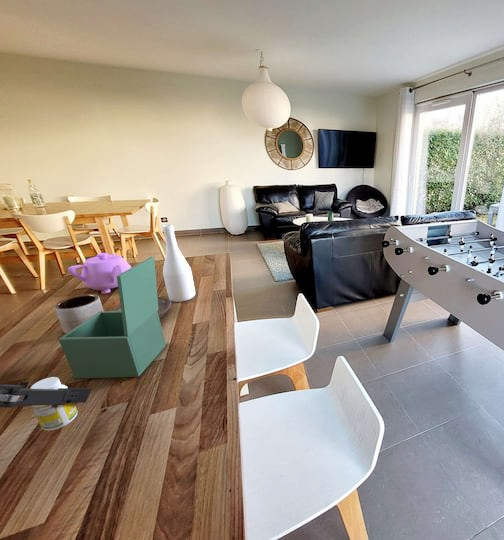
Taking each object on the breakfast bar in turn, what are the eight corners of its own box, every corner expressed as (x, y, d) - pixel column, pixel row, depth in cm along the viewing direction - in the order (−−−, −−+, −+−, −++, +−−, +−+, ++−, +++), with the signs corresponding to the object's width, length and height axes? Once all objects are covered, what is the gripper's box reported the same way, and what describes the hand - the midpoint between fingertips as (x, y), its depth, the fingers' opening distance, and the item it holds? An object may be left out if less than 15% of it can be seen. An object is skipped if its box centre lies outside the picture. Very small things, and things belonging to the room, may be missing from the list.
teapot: (90, 304, 109) (78, 268, 103) (69, 291, 118) (56, 257, 112) (147, 286, 125) (139, 254, 119) (125, 276, 134) (116, 245, 128)
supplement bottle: (50, 435, 56) (31, 399, 52) (36, 425, 58) (17, 389, 54) (84, 415, 61) (69, 380, 57) (70, 405, 63) (55, 371, 59)
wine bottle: (184, 304, 112) (168, 229, 101) (163, 301, 114) (145, 227, 102) (201, 293, 121) (188, 223, 110) (181, 291, 122) (166, 221, 111)
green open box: (74, 378, 74) (58, 339, 70) (111, 346, 87) (99, 311, 82) (138, 376, 76) (126, 338, 71) (166, 345, 89) (157, 310, 84)
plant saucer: (144, 332, 94) (142, 324, 93) (98, 325, 97) (95, 317, 96) (183, 306, 111) (182, 299, 109) (143, 301, 113) (141, 294, 112)
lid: (116, 275, 65) (120, 276, 65) (151, 256, 78) (154, 256, 78) (124, 336, 71) (128, 336, 71) (155, 309, 84) (158, 309, 84)
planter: (54, 332, 92) (43, 306, 88) (91, 315, 102) (83, 291, 98) (80, 338, 90) (70, 312, 86) (115, 320, 100) (107, 296, 96)
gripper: (-162, 419, 39) (23, 409, 60) (-36, 432, 38) (107, 417, 60) (-122, 362, 42) (42, 372, 63) (-4, 373, 41) (121, 379, 63)
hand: (73, 394), depth 62 cm, fingers closed on supplement bottle, 5 cm apart
